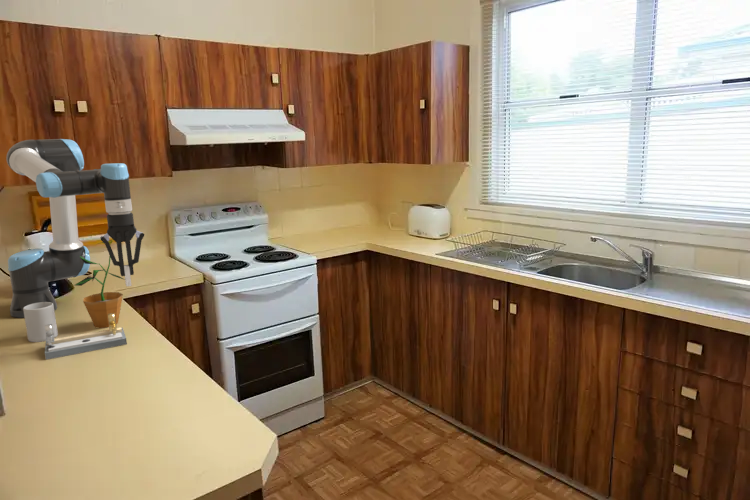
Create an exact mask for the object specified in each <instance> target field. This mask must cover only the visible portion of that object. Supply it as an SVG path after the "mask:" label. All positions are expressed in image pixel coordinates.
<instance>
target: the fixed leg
mask: <svg viewBox="0 0 750 500" xmlns="http://www.w3.org/2000/svg"><path fill="white" fill-rule="evenodd" d="M45 332H46V341H45V343H46V342H47V343H48V344H49V347H51V346H52V342H54V339H56V337H55V338H54V333H53V327H52V324H47V325H45Z"/></svg>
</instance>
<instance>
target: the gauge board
mask: <svg viewBox="0 0 750 500" xmlns="http://www.w3.org/2000/svg"><path fill="white" fill-rule="evenodd" d="M115 331H116V335H113V331H110V329H104V330H99V331H92V332H86V333H80V334H74V335H70V336H64V337H59V338H58V337H56V338H55V339H54V342H52V346H51V347H49V344H48V343H47V342H46V341H45V346H44V357H45V360H50V359H56V358H60V357H61V358H62V357H67V356H72V355H78V354H81V353H82V354H83V353H88V352H94V351H98V350H105V349H109V348H114V347H119V346H120V347H121V346H124V345H125V346H126V345H127V344H128V342H127V337H126V333H125V330H124V328H123V327H117V330H115Z"/></svg>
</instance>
